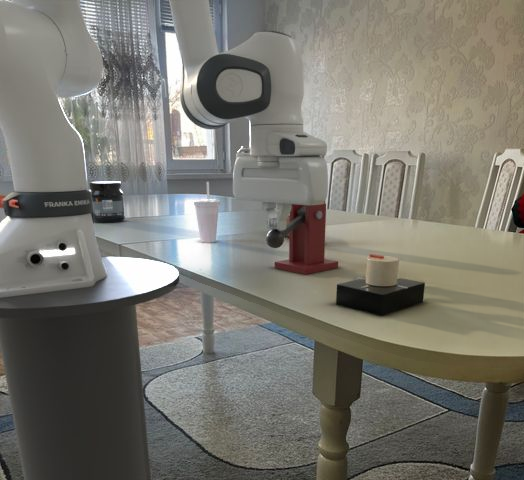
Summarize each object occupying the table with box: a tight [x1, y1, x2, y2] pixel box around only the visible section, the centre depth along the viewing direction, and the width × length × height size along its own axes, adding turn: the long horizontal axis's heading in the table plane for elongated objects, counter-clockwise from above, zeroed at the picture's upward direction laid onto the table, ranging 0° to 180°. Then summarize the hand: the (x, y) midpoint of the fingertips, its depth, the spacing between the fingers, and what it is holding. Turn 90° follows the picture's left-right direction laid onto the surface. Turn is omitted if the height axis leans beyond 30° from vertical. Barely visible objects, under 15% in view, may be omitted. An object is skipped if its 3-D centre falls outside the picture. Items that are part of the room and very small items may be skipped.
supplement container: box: [88, 180, 126, 224], centre depth 172 cm, size 10×10×12 cm
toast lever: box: [265, 205, 306, 249], centre depth 97 cm, size 12×3×3 cm, turn 132°
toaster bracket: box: [274, 203, 339, 275], centre depth 100 cm, size 9×8×12 cm
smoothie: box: [193, 181, 221, 244], centre depth 131 cm, size 6×6×14 cm
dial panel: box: [335, 276, 426, 317], centre depth 77 cm, size 10×9×3 cm
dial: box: [365, 253, 400, 287], centre depth 76 cm, size 4×4×4 cm
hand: (276, 229), depth 94 cm, fingers closed
